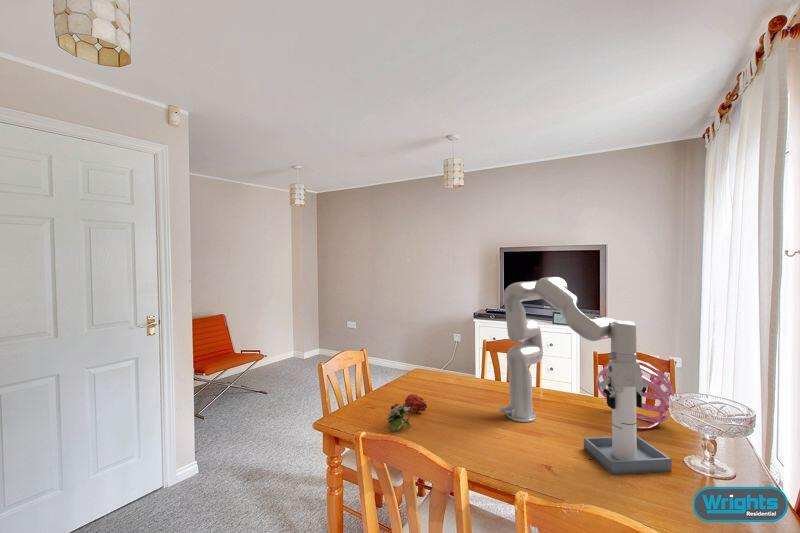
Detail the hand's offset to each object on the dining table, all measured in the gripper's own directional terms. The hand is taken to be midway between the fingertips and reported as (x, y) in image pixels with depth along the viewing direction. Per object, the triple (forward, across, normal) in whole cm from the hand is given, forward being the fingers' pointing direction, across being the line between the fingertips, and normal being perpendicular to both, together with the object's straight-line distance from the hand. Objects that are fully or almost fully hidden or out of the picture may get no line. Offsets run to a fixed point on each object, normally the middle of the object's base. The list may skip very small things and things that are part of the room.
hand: (624, 406), depth 124 cm
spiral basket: (+18, +24, +27) cm, 41 cm away
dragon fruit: (+19, -68, +47) cm, 85 cm away
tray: (+18, 0, 0) cm, 18 cm away
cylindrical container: (+17, 0, 0) cm, 17 cm away
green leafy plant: (+19, -76, +32) cm, 85 cm away
